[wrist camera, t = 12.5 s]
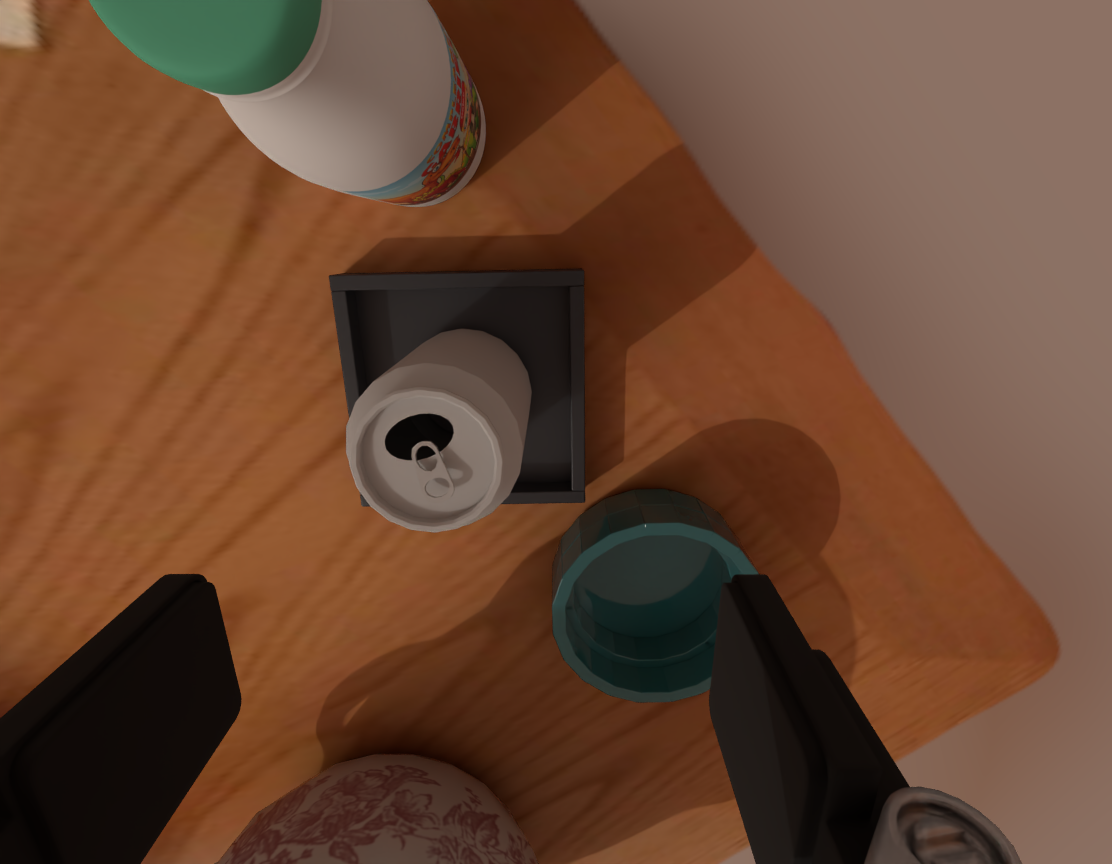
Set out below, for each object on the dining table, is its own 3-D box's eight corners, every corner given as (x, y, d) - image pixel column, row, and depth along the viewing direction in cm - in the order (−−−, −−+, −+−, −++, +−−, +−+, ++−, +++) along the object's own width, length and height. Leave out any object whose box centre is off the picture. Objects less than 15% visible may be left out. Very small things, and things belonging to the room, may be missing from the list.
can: (504, 307, 32) (477, 344, 21) (550, 426, 35) (547, 516, 23) (384, 351, 33) (295, 410, 22) (436, 464, 36) (380, 571, 24)
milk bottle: (360, 217, 31) (66, 187, 13) (323, 56, 29) (-112, -284, 10) (499, 197, 31) (411, 133, 12) (473, 32, 29) (314, -366, 10)
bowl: (550, 488, 37) (549, 524, 32) (747, 484, 37) (776, 520, 32) (554, 650, 41) (554, 704, 36) (732, 647, 41) (755, 701, 36)
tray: (342, 273, 32) (328, 275, 30) (582, 268, 32) (584, 270, 30) (371, 492, 37) (361, 507, 35) (583, 488, 37) (585, 503, 35)
